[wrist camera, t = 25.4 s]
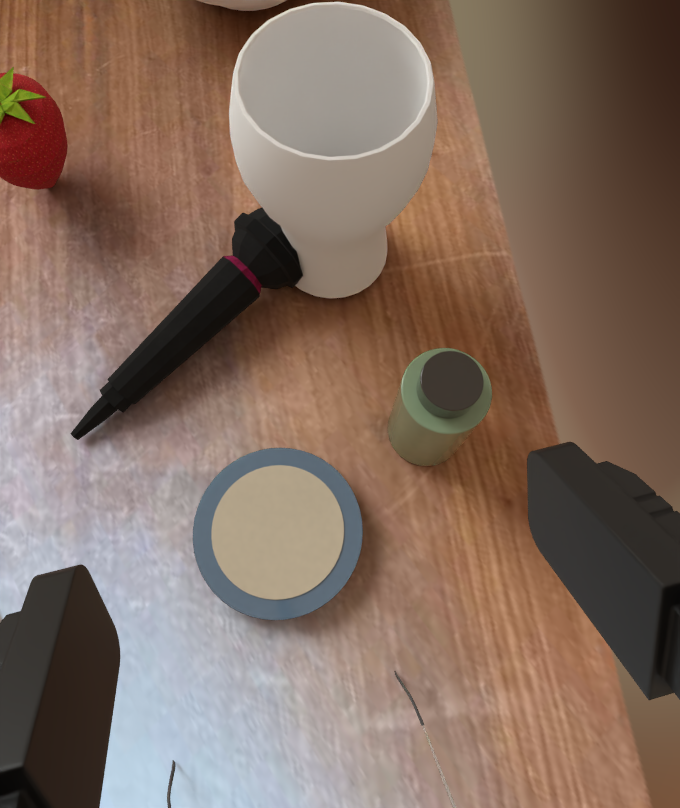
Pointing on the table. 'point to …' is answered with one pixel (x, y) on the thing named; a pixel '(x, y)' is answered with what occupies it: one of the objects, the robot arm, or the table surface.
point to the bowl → (244, 4)
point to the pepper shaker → (438, 405)
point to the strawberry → (30, 133)
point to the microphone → (202, 313)
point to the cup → (333, 134)
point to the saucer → (277, 533)
